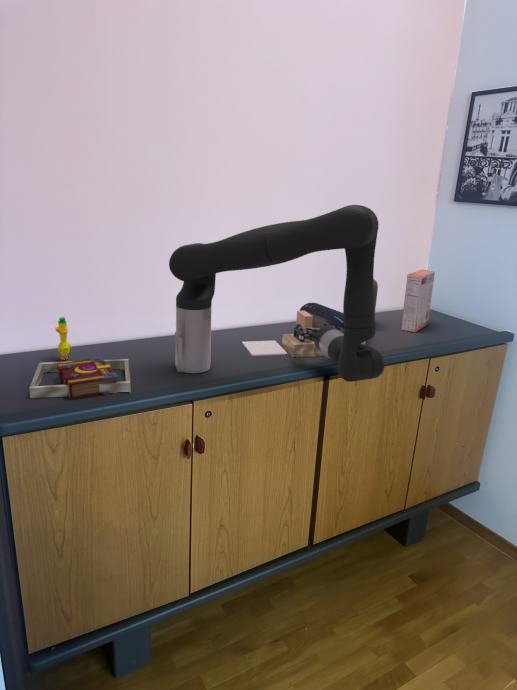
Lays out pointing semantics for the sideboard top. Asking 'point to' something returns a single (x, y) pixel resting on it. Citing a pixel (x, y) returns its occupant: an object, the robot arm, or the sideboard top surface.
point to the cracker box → (417, 300)
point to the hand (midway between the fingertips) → (311, 326)
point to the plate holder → (299, 347)
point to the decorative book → (85, 376)
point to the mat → (264, 348)
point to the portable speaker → (323, 315)
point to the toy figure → (63, 338)
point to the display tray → (62, 390)
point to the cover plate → (304, 321)
